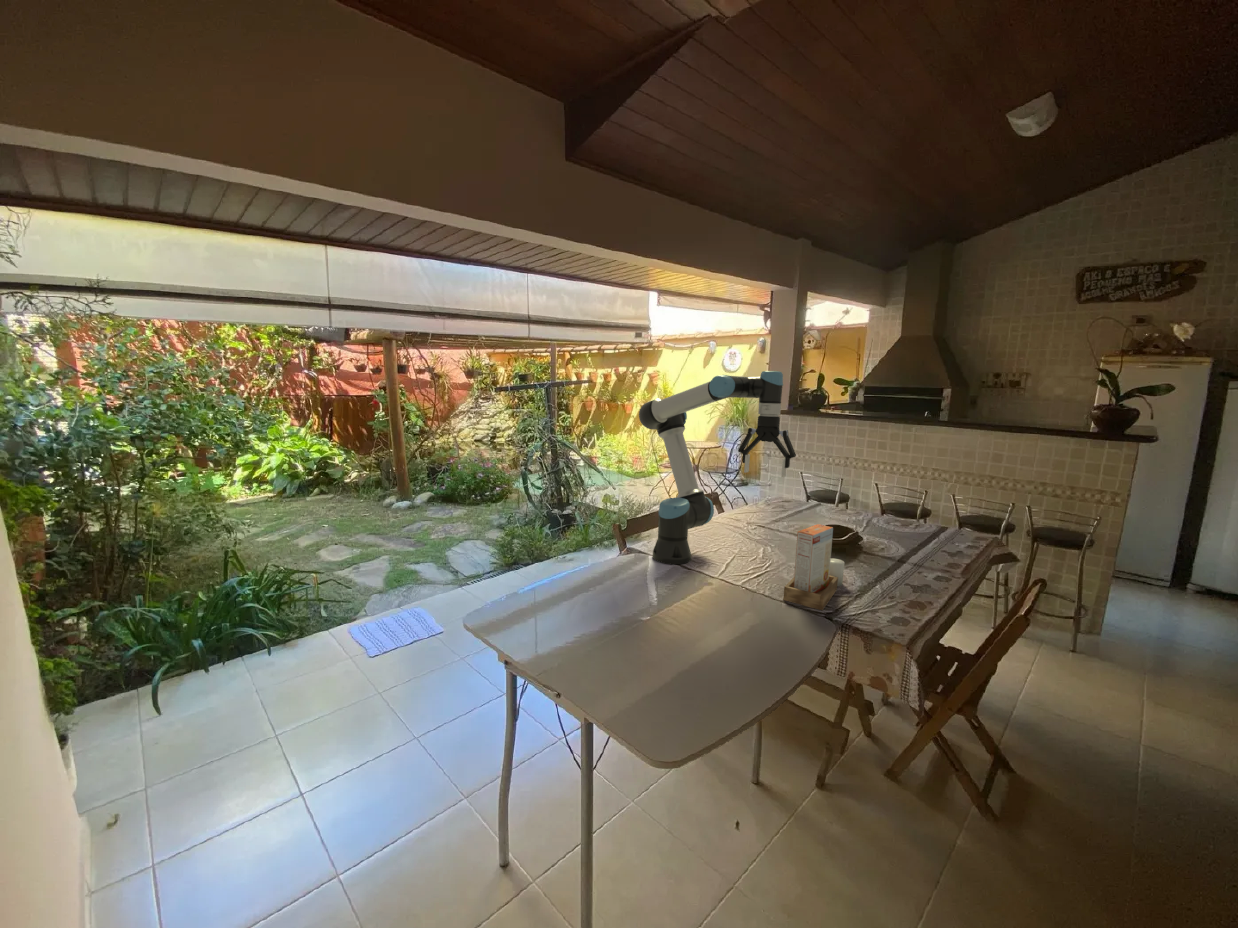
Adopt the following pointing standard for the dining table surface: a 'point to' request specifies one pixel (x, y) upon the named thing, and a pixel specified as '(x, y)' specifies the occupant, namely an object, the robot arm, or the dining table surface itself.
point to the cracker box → (813, 558)
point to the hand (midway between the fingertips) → (764, 474)
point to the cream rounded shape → (837, 570)
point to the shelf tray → (811, 594)
